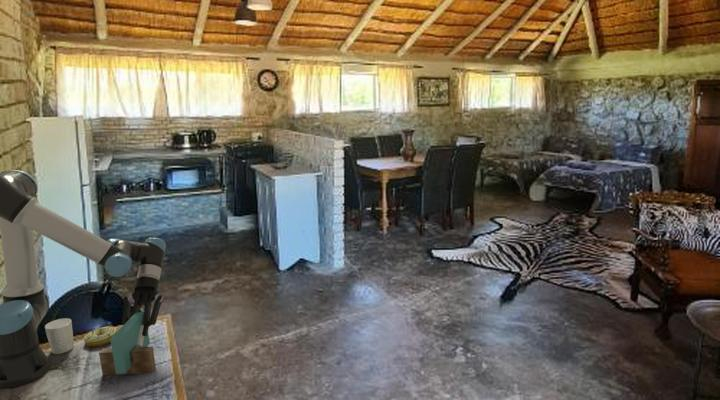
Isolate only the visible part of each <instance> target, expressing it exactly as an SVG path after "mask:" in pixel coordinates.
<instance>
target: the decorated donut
mask: <svg viewBox="0 0 720 400" xmlns="http://www.w3.org/2000/svg"><path fill="white" fill-rule="evenodd" d="M117 331H118V330H117V328H116V327H114V326H109V325H108V326H103V327H97V328H95V329H93V330H91V331H89V332H88V333H86V334H85V336H84V337H83V341H84V345H85V346H87V347H92V348H93V347H102V346H105V345H108V344H111V340H110V339H111V338H112V337H113V336H114V335H115V334H116V333H117Z"/></svg>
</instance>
